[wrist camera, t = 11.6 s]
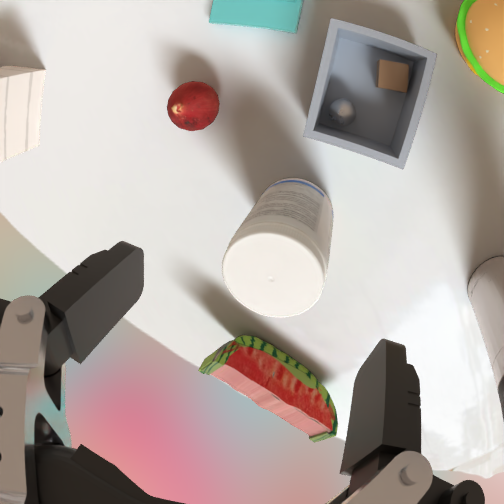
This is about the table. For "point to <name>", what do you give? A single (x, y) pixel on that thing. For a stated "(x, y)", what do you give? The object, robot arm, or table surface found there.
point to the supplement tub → (281, 250)
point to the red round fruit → (193, 106)
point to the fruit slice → (275, 384)
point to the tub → (369, 93)
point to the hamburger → (482, 39)
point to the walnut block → (392, 75)
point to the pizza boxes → (20, 109)
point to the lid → (258, 13)
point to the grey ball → (342, 112)
